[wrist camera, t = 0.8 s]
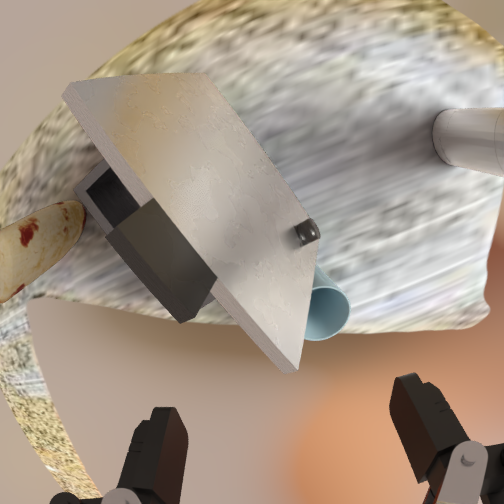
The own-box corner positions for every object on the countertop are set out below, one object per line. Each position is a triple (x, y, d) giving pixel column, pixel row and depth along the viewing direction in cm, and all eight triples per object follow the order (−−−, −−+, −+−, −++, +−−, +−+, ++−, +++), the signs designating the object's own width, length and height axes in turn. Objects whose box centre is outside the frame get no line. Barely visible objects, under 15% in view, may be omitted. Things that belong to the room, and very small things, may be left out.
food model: (79, 258, 43) (6, 324, 24) (48, 237, 42) (-32, 291, 23) (101, 204, 41) (18, 250, 22) (67, 183, 39) (-24, 216, 20)
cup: (335, 290, 47) (356, 327, 37) (288, 308, 47) (299, 349, 38) (321, 247, 44) (342, 277, 34) (271, 266, 45) (280, 301, 35)
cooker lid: (197, 79, 27) (215, 64, 26) (311, 237, 33) (331, 227, 32) (17, 107, 10) (38, 68, 8) (274, 414, 16) (311, 407, 14)
